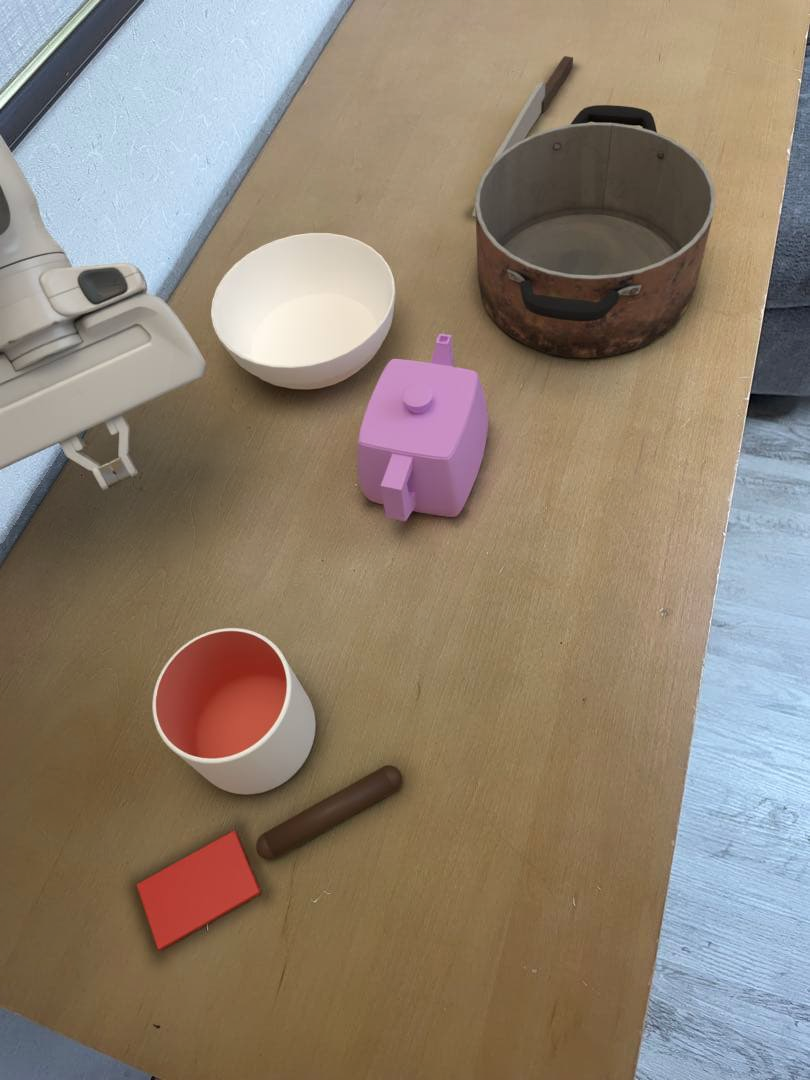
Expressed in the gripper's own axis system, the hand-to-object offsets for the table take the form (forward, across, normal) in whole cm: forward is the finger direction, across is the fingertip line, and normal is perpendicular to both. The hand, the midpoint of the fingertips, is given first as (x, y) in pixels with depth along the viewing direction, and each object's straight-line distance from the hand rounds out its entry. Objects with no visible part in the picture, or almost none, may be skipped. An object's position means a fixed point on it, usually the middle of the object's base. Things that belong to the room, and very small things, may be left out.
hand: (120, 481), depth 67 cm
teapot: (+11, +25, +7) cm, 28 cm away
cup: (+23, 0, -5) cm, 23 cm away
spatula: (+28, -2, -11) cm, 31 cm away
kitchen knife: (-15, +58, +32) cm, 68 cm away
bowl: (-2, +22, +20) cm, 30 cm away
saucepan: (+3, +50, +15) cm, 53 cm away
